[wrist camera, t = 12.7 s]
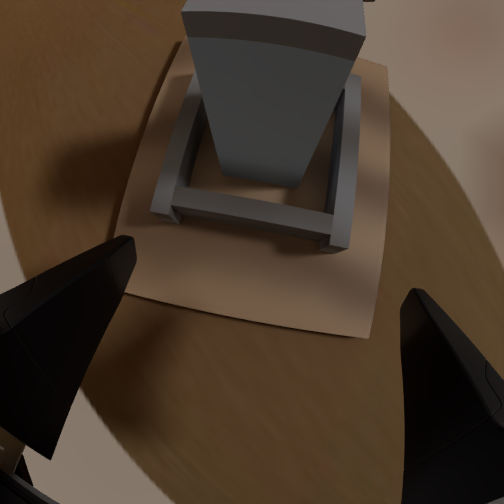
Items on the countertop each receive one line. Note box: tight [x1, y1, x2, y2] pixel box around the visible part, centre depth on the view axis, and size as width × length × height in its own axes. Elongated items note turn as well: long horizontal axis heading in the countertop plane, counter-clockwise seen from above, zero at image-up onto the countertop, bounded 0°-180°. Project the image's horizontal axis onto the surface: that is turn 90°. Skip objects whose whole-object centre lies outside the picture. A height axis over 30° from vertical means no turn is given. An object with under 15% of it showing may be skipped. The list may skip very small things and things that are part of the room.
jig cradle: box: [114, 34, 390, 339], centre depth 17 cm, size 20×16×4 cm
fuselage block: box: [181, 0, 366, 189], centre depth 11 cm, size 4×4×12 cm
